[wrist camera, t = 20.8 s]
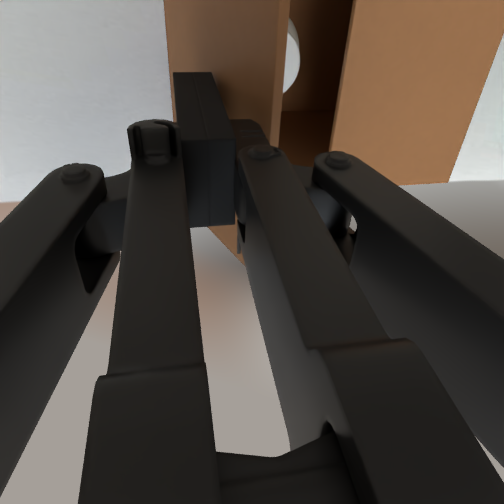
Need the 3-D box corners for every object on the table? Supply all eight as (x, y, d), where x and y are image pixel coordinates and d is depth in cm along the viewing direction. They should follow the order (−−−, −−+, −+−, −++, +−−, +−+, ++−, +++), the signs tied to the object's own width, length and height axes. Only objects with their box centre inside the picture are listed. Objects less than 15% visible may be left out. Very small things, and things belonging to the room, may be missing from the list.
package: (174, 117, 34) (182, 199, 23) (157, -87, 26) (159, -99, 15) (366, 112, 36) (448, 183, 26) (405, -73, 29) (545, -76, 18)
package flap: (185, 196, 24) (179, 198, 23) (165, -97, 16) (155, -98, 15) (267, 279, 18) (260, 282, 18) (299, -106, 10) (286, -107, 10)
